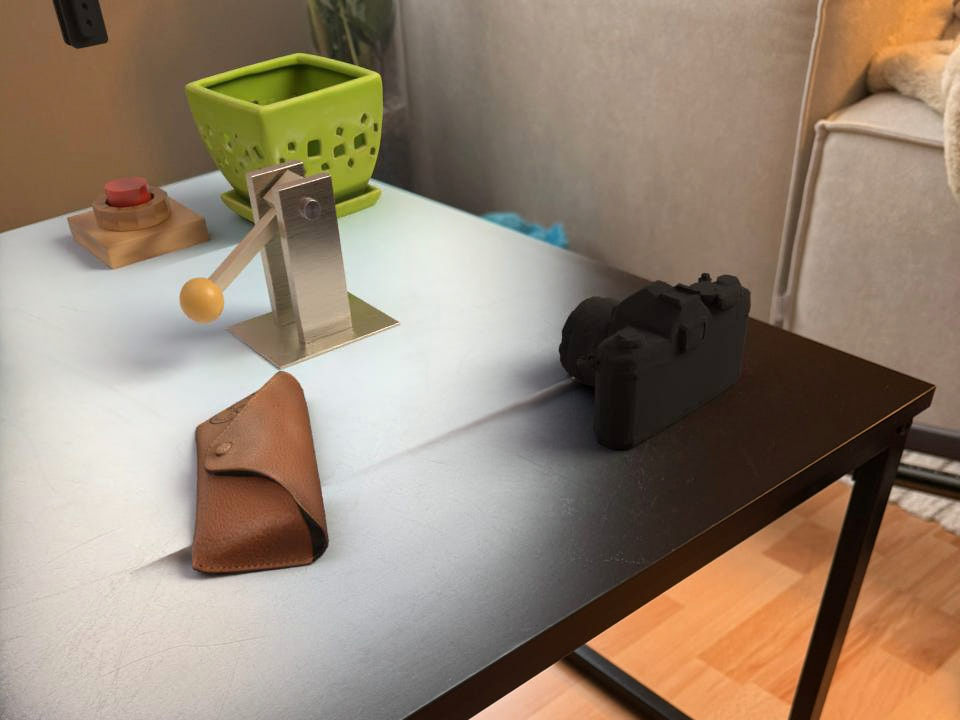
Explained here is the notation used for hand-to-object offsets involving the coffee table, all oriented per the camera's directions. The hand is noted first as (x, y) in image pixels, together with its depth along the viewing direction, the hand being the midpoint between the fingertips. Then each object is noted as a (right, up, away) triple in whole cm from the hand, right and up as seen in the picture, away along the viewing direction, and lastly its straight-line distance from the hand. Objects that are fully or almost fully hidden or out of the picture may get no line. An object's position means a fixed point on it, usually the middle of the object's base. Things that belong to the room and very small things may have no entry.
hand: (87, 42), depth 87 cm
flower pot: (+16, -9, +15) cm, 24 cm away
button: (+1, -10, +9) cm, 14 cm away
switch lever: (+17, -24, -12) cm, 32 cm away
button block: (+1, -12, +12) cm, 17 cm away
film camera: (+46, -34, -14) cm, 59 cm away
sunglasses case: (+19, -42, -21) cm, 51 cm away
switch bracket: (+21, -27, -5) cm, 35 cm away
